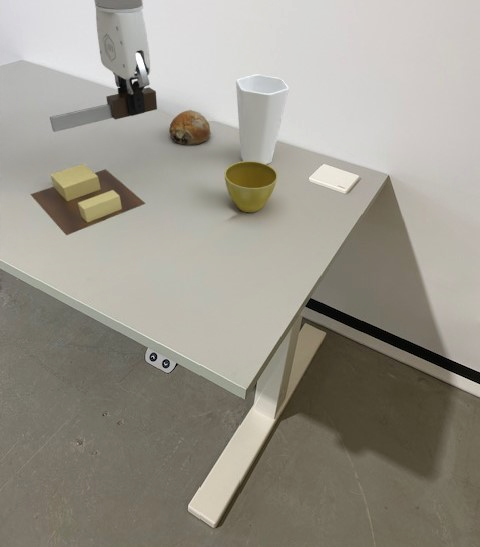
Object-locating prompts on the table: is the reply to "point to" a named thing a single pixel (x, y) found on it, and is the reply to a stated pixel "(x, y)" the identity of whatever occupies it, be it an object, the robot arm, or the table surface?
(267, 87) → the cup
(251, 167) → the flower pot
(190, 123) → the bread roll
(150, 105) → the knife
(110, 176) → the board
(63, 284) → the table surface
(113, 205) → the butter slice
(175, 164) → the table surface
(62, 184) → the butter block
